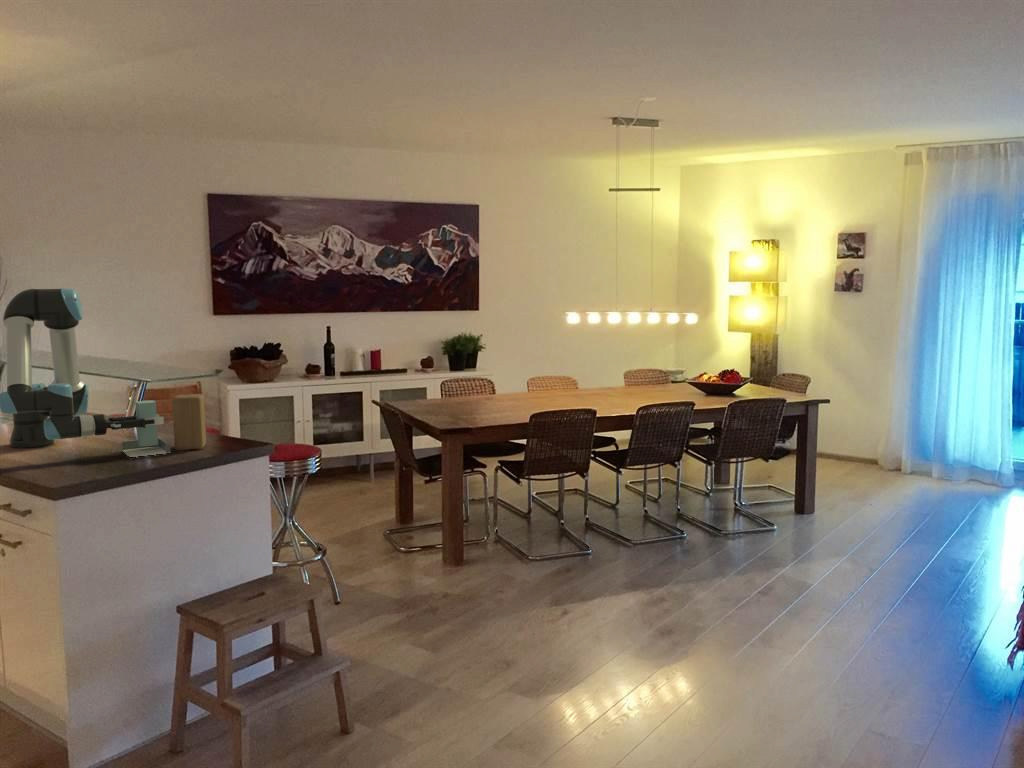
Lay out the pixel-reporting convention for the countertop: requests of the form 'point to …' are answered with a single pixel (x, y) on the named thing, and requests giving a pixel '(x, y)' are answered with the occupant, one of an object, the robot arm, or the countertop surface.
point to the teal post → (149, 433)
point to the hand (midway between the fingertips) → (161, 419)
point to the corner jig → (145, 448)
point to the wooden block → (189, 421)
